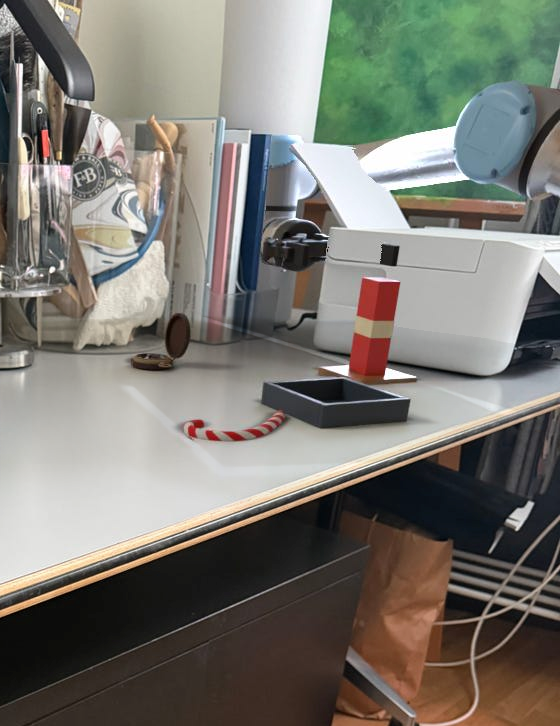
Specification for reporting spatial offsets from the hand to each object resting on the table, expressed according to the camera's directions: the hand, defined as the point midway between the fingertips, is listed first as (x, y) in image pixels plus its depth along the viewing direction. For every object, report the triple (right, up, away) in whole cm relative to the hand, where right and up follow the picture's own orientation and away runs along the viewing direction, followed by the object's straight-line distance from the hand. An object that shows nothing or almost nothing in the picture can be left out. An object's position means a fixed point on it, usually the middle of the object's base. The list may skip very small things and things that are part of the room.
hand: (351, 256), depth 131 cm
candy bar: (+1, -17, -2) cm, 17 cm away
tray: (-9, -28, -22) cm, 36 cm away
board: (+1, -18, -2) cm, 18 cm away
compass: (-27, -15, +3) cm, 31 cm away
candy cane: (-21, -31, -29) cm, 47 cm away
